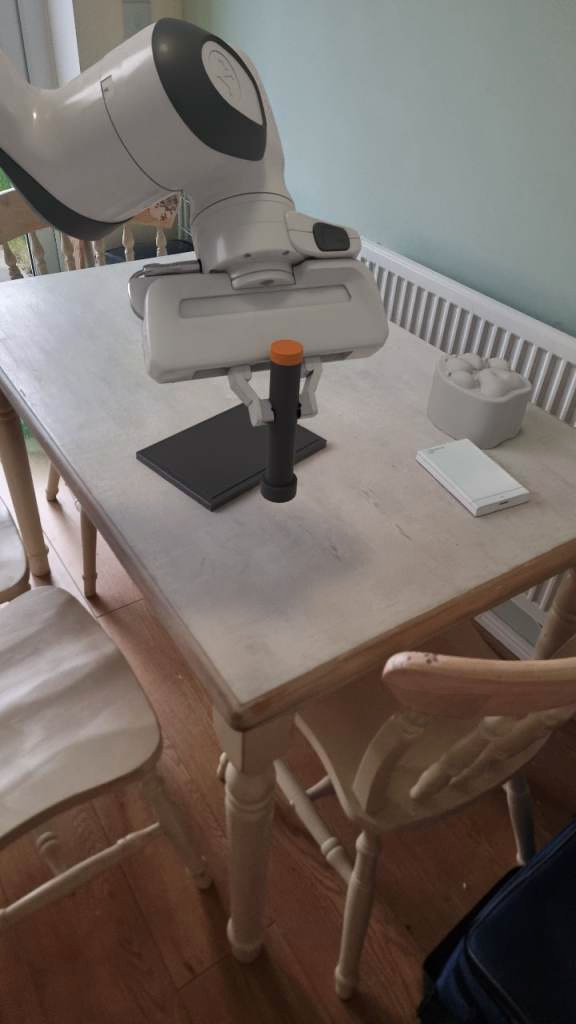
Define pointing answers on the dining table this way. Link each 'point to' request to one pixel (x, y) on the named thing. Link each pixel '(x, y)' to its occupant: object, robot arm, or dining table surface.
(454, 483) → the hard drive
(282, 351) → the black orange-capped cylinder
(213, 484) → the tablet
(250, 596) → the dining table surface
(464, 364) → the lumpy-topped squat cylinder
